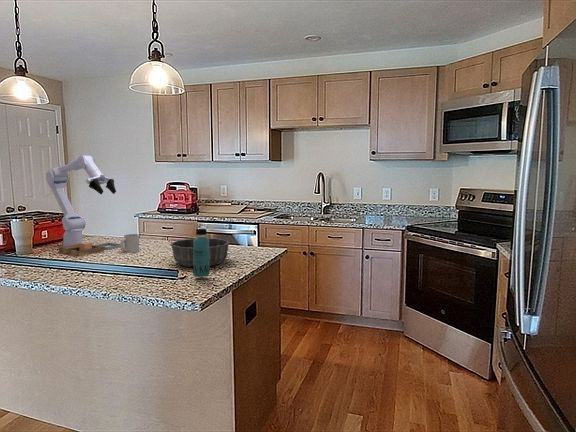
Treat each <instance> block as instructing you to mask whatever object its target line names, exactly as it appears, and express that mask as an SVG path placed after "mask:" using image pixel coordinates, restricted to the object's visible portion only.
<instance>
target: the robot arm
mask: <svg viewBox="0 0 576 432" xmlns="http://www.w3.org/2000/svg"><path fill="white" fill-rule="evenodd" d="M81 169H83V170H84V171H85V172H86V174H87V175H88V176H89V177H87V178H86V180H85V182H86V184H87V185H88V187H89V188H90V189H92V190H94V191H96V192H97V193H98V194H99V195H103V193H104V190H103V188H102V186H101V185H103V184H106V185H105V188H106V189H108V190H109V191H110V192H111V194H113V195H115V193H116V192H117V190H116V187H115V180H114V178H112V177H111V178H110V177H107V176H106V175H105V174H104V173H102V172H101V170H100V169H99V167H98V166H97V165H96V163H95V158H94V157H93V156H92V155H83V154H82V155H81V154H80V155H79V156H78V157H74V158H73V159H72V160H70V161H69V163H67V164H64V165H61V166H58V167H53V168H51V169H49V170H47V172H46V173H45V180H46V182H47V184H48V186H49V188H50V190H51V192H52V193H53V196H54V198H55V199H56V201H57V204H58V206H59V208H60V209H61V212H62V213H63V217H62V219H61V222H62V227H63V230H65V231H64V233H63V236H62V237H63V238H62V239H63V246H69V245H75V244H79V243H84V241H83V238H84V237H83V231H84V229H85V228H86V225H87V224H86V220H85V219H84V218H83V217H82V215H81V214H79V213H78V212H77V213H76V212H75V210H74V208H73V205H72V204H71V201H70V200H69V197H68V196H67V194H66V192H65V189H64V188H66V186H67V184H68V181H69V178H70V172H71V171H74V172H75V171H79V170H81ZM63 246H61V247H63Z"/></svg>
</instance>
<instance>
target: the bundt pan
mask: <svg viewBox="0 0 576 432" xmlns="http://www.w3.org/2000/svg"><path fill="white" fill-rule="evenodd" d="M207 238H208V237H207ZM194 239H195V238H186V239H179V240H175V241H173V242H172V241H171V243H170V246H171V249H172V255H173V259H174V261H175V262H176V263H177V264H179V265H180V266H182V267H190V268H191V267H193V240H194ZM208 239H209V257H210V262H209V266H210V267H213V266H214V265H216V266H217V265H219V264H221V263H223V262H224V261H226V259H227V257H228V251H229V245H230V241H229V240H225V239H222V238H221V239H220V238H208Z"/></svg>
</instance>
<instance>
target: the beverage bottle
mask: <svg viewBox="0 0 576 432" xmlns="http://www.w3.org/2000/svg"><path fill="white" fill-rule="evenodd" d="M207 233H208V231H207V229H206V228H196V230H195V235H197V236H196V237H195V238H193V239H194V240H193V266H192V271H193V272H192V275H193V276H194V277H197V278H204V277H209V275H210V271H211V270H210V267H211V266H209V262H210V257H209V239H208V237H206V235H207Z"/></svg>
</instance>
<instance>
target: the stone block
mask: <svg viewBox="0 0 576 432" xmlns="http://www.w3.org/2000/svg"><path fill="white" fill-rule="evenodd" d="M92 245H93V242H88V241H85V242H84V241H83V243H79V251H83V250H88V249H92Z"/></svg>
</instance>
